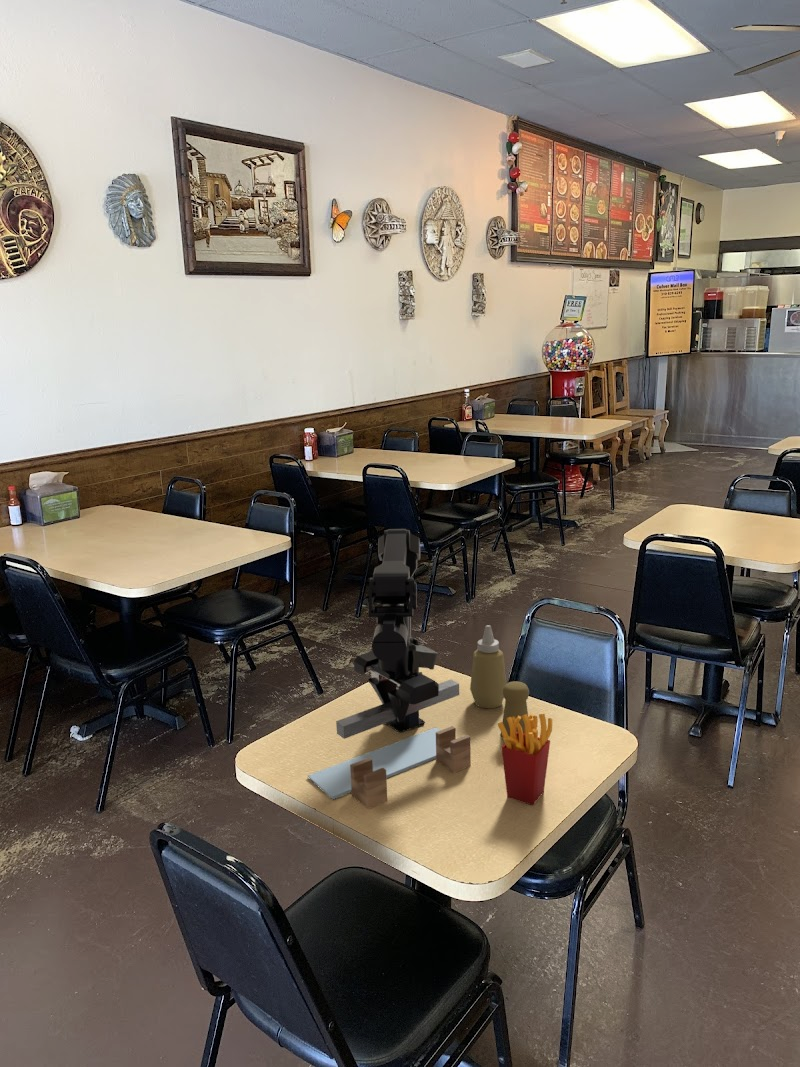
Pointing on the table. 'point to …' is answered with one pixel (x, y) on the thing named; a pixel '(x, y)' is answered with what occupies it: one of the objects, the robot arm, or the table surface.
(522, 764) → the french fries
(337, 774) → the mat
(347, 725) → the rail
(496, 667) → the squeeze bottle
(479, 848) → the table surface
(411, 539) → the robot arm
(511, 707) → the pepper mill
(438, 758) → the stand far
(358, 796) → the stand near
